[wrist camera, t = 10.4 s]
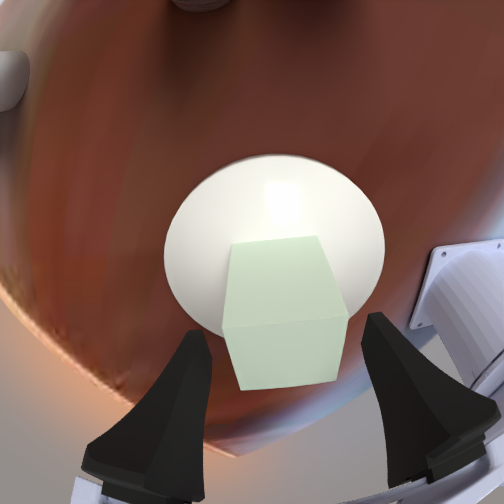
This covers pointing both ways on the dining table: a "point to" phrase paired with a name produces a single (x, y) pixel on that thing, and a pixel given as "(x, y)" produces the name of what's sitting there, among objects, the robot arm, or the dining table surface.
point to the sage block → (283, 314)
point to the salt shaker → (200, 5)
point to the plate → (270, 228)
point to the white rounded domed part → (13, 78)
